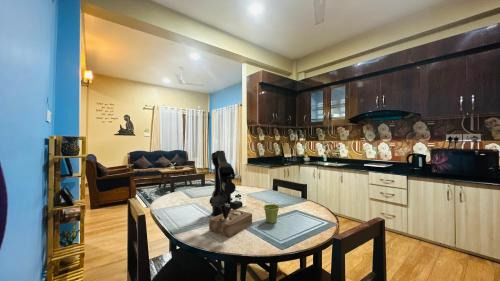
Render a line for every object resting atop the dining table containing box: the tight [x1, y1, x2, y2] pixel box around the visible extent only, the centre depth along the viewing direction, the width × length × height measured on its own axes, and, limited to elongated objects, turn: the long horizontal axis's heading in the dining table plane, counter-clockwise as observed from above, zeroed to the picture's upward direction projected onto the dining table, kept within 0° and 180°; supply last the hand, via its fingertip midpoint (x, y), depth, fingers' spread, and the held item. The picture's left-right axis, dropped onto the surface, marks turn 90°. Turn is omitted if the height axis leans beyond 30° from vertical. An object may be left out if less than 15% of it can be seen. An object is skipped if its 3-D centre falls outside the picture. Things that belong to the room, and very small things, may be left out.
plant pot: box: [263, 203, 280, 224], centre depth 120 cm, size 9×9×9 cm
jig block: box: [208, 209, 253, 238], centre depth 112 cm, size 14×20×6 cm
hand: (225, 218), depth 108 cm, fingers closed, pressing on peg near
